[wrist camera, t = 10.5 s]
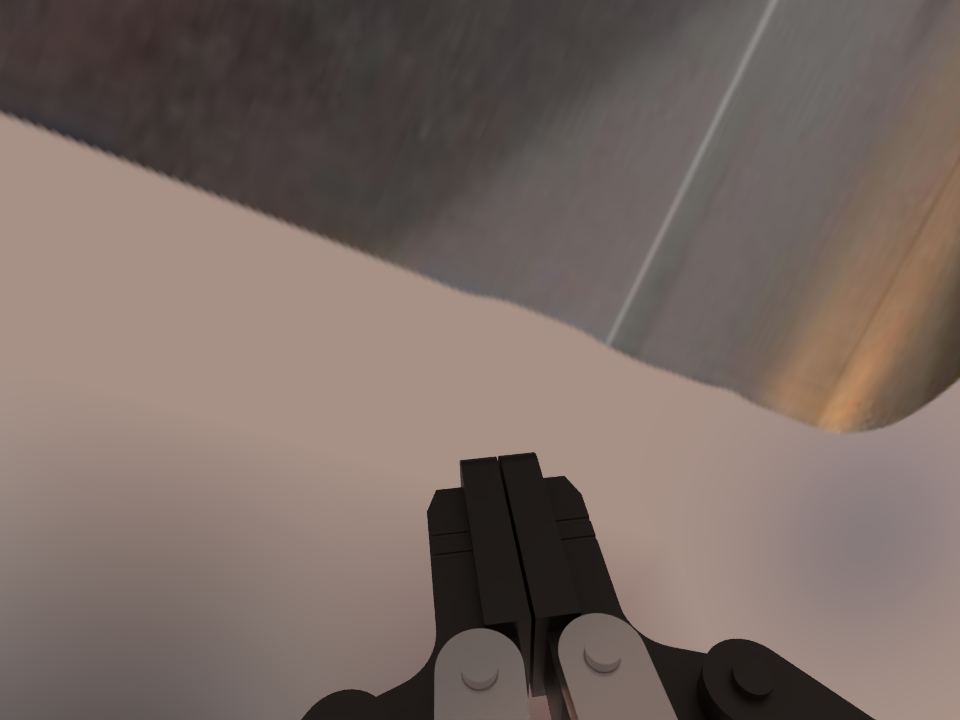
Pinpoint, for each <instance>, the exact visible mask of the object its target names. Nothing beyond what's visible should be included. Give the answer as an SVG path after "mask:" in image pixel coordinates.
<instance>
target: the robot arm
mask: <svg viewBox="0 0 960 720" xmlns="http://www.w3.org/2000/svg"><path fill="white" fill-rule="evenodd" d="M460 477H461V487H460V488H452V489H442V490H436V492H435V494H434V497H433V499H432V501H431V504H430V506H429V509H428V511H427V518H428V531H429V542H430V543H429V544H430V556H431V567H432V568H431V569H432V582H433V595H434V608H435V620H436V641H435V647H434V649H433V652H432V655H431V656H430V658H429V660H428V662H427V663H426V664H425V666H424V667H423V668H422V669H421V671H419V673H417V675H415V676H414V677H412V678H411V679H410V680H408V681H406V682H405V683H403V684H401V685H399V686H397V687H395V688H393V689H391V690H389V691H387V692H385V693H383V694H381V695H379V696H377V697H375V696H374V695H372V694H370V693H368V692H364V691H361V690H354V689H351V690H342V691H338V692H335V693H332V694H330V695H328V696H326V697H324V698H323V699H321V700H320V701H318V702H317V703H316V704H315V705H314V706H312V708H311V709H310V710H309V711H308V712H307V713H306V715H305V716H304V717H303V718H302V720H530V713H529V704H528V693H529V684H530V689H531V694H532V697H536V696H544V695H546V696H547V700H548V705H549V710H550V715H551V719H552V720H875V719H873V718H872V717H870V716H869V715H867V714H866V713H864V712H863V711H861V710H860V709H858V708H857V707H855V706H854V705H852V704H851V703H849V702H848V701H846V700H845V699H843V698H842V697H840V696H839V695H837V694H836V693H835V692H833V691H831V690H830V689H829V688H827V687H826V686H824V685H823V684H821V683H820V682H818V681H817V680H815V679H814V678H812V677H811V676H809V675H808V674H806V673H805V672H803V671H802V670H800V669H799V668H797V667H796V666H794V665H793V664H791V663H790V662H788V661H787V660H785V659H784V658H782V657H780V656H779V655H778V654H776V653H775V652H773V651H772V650H770V649H769V648H767V647H765V646H763V645H761V644H759V643H756V642H753V641H750V640H745V639H729V640H725V641H722V642H720V643H718V644H716V645H715V646H713V647H712V648H711V649H710V651H709V652H708V653H707V654H706V653H701V652H695V651H690V650H685V649H679V648H674V647H669V646H666V645H662V644H659V643H657V642H654V641H652V640H650V639H649V638H647V637H645V636H644V635H642V634H641V633H640V632H638V631H637V630H636V629H635V628H634V627H633V626H632V625H631V624H630V622H629V621H628V620H627V618H626V617H625V615H624V614H623V612H622V610H621V607H620V605H619V602H618V599H617V596H616V593H615V591H614V587H613V584H612V581H611V579H610V576H609V573H608V570H607V567H606V564H605V561H604V558H603V555H602V553H601V550H600V547H599V544H598V541H597V540H596V537H595V532H594V530H593V526H592V524H591V521H590V520H589V515H588V512H587V509H586V506H585V503H584V500H583V497H582V495H581V493H580V492H579V491H578V490H577V489H576V488H575V487H574V486H573V485H572V484H571V483H570V482H569V480H568V479H567V478H566V477H565V476H559V477H549V478H543V476H542V472H541V469H540V466H539V462H538V459H537V456H536V454H535V453H534V452H532V453H524V454H514V455H504V456H498V461H497V458H496V457H488V458H478V459H468V460H460Z"/></svg>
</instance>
